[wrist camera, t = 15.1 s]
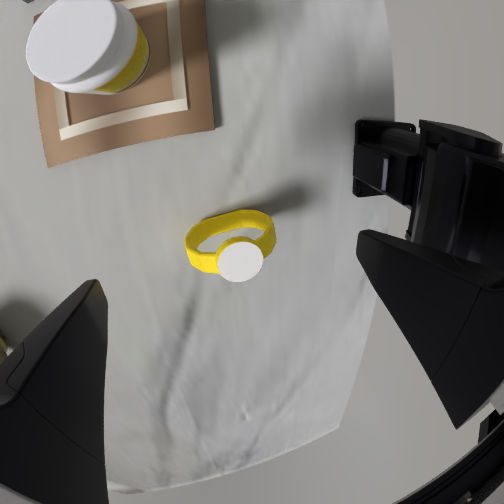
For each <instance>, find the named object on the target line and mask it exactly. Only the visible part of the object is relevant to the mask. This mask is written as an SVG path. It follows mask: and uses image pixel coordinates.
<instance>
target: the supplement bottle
mask: <svg viewBox="0 0 504 504" xmlns="http://www.w3.org/2000/svg"><path fill="white" fill-rule="evenodd" d="M26 58H27V63H28V66H29V68H30V70H31V71H32V73H33V74H34V75H35V76H36V77H38V78H39V79H41V80H43V81H45V82H50V83H51V84H52V85H53V86H55V87H56V88H58V89H60V90H62V91H66V92H70V93H86V94H101V95H112V94H117V93H120V92H123V91H125V90H127V89H129V88H131V87H132V86H133V85H135V84H136V83H137V82H138V81H139V80H140V79H141V78H142V76H143V75H144V73H145V72H146V70H147V67H148V65H149V61H150V46H149V43H148V40H147V39H146V37H145V35H144V34H143V32H142V30H141V28H140V27H139V25H138V23H137V21H136V20H135V18H134V16H133V15H132V13H131V12H130V11H129V10H128V9H127V8H126V7H124V6H123V5H121V4H119V3H117V2H114V1H111V0H58V1H56V2H55V3H53V4H52V5H51V6H49V7H48V8H47V9H46V10H45V11H44V12H43V13H42V15H41V16H40V17H39V18H38V20H37V21H36V22H35V24H34V26H33V28H32V30H31V32H30V34H29V37H28V40H27V45H26Z"/></svg>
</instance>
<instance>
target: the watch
mask: <svg viewBox="0 0 504 504" xmlns="http://www.w3.org/2000/svg"><path fill="white" fill-rule="evenodd" d="M241 227H251V228H259V229H261V230H263V231H265V232H264V234H263V235H262V236H261V237H259V238H258V239H256V240H255V241H254V240H252V239H250V238H248V237H242V236H239V237H233V238H231V239H229V240H226V241H225V242H224V243H223V244H222V245H221V246H220V247H219V249H218V250H217V252H216V253H210V252H200V251H198V250H196V249H197V248H198V246H199V244H201V243H202V242H203V241H205V240H206V239H207V238H209V237H210V236H212V235H216V234H219V233H223V232H226V231H230V230H233V229H237V228H241ZM184 243H185V247H186V251H187V254H188V256H189V259H190V262H191V264H192V266H194V267H196V268H197V269H199V270H201V271H203V272H206V273H219V274H220V275H221V276H222V277H223V278H225V279H226V280H229V281H231V282H243V281H246V280H249V279H251V278H252V277H254V276H255V275H256V274H257V273H258V272H259V270H260V269H261V267H262V264H263V259H264V258H265V257H267V256H268V255H269V254H270V253H271V252H272V250H273V248H274V246H275V243H276V234H275V228H274V223H273V221H272V219H271V217H270V216H269V215H267V214H265V213H262V212H260V211H257V210H246V209H238V211H234V212H230V213H227V214H223V215H219V216H216V217H212V218H209V219H205V220H202V221H201V222H200V223H198V224H197V225H195V226H194V227H192V229H191V230H190V231H189V233H188V234H187V236H186V237H185V240H184Z"/></svg>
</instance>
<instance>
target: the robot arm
mask: <svg viewBox="0 0 504 504" xmlns="http://www.w3.org/2000/svg"><path fill="white" fill-rule="evenodd" d="M361 124H363V127H362V128H361V127H360V126H361ZM419 127H420V134H417V133H416V127H415V125H414V124H411V123H402V122H391V121H377V120H358V121H357V122H356V123H355V146H354V159H353V194H354V195H355V196H357V197H368V196H377V195H387V196H389V197H390V198H392V199H394V200H395V201H397V202H399V203H400V204H402V205H404V206H405V207H407V208H408V209H410V210H411V215H410V221H409V227H408V230H406V235H405V238H406V240H404V239H401V238H398V237H394V236H391V235H388V234H384V233H381V232H377V231H374V230H370V229H368V230H362V231H360V232H359V234H358V240H357V248H356V255H357V258H358V260H359V262H360V264H361V265H362V267H363V269H364V271H365V273H366V275H367V276H368V278H369V280H370V282H371V284H372V286H373V287H374V289H375V291H376V292H377V294H378V295H379V297H380V298H381V300H382V301H383V303H384V304H385V306H386V308H387V309H388V311H389V312H390V314H391V315H392V317H393V318H394V320H395V322H396V323H397V325H398V326H399V328H400V329H401V331H402V333H403V334H404V336H405V338H406V339H407V341H408V342H409V344H410V346H411V348H412V349H413V351H414V352H415V354H416V356H417V358H418V360H419V361H420V363H421V365H422V366H423V368H424V370H425V372H426V374H427V375H428V377H429V379H430V381H431V383H432V385H433V386H434V388H435V390H436V392H437V394H438V396H439V398H440V400H441V401H442V403H443V405H444V407H445V409H446V411H447V413H448V415H449V417H450V419H451V421H452V423H453V425H454V427H455V428H456V429H458V428H460V427H461V426H462V425H463V424H464V423H466V422H467V421H469V420H470V419H471V418H472V417H473V416H475V415H476V414H477V413H478V412H479V411H481V410H482V409H483V408H484V407H485V406H486V405H487V404H488V403H490V402H491V403H492V405H493V406H494V407H495V410H494V411H493V412H492V413H491V414H490V415H489V416H488V417H487V418H486V419H485V420H484V421H482V422H481V423H480V431H479V438H478V444H477V445H476V446H475V447H474V448H473V449H472V450H470V451H469V452H468V453H467V454H466V455H464V456H463V457H462V458H461V459H459V460H458V461H457V462H456V463H454V464H453V465H452V466H451V467H449V468H448V469H446V470H445V471H443V472H442V473H441V474H439V475H438V476H436V477H435V478H434V479H432V480H431V481H429V482H428V483H426V484H425V485H423V486H421V487H420V488H418V489H417V490H415V491H414V492H412V493H410V494H408V495H407V496H405V497H403V498H402V499H400V500H398V501H396V502H395V503H393V504H504V154H503V153H502V143H501V142H499V141H497V140H495V139H493V138H491V137H490V136H487V135H486V134H484V133H481V132H478V131H475V130H471V129H468V128H464V127H460V126H456V125H451V124H445V123H439V122H434V121H427V120H419ZM410 128H411V131H410ZM359 189H360V192H359V193H358V190H359ZM107 345H108V302H107V299H106V296H105V294H104V292H103V289H102V287H101V284H100V282H99V281H98V280H97V279H92V280H87V281H85V282H84V283H83V284H82V285H81V286H80V287H79V288H77V289H76V290H75V291H74V292H73V293H72V294H71V295H70V296H69V297H67V298H66V299H65V300H64V301H63V302H62V303H61V304H60V305H59V306H58V307H57V308H56V309H55V310H54V311H52V312H51V313H50V314H49V315H48V316H47V317H46V318H45V319H44V320H43V321H42V322H41V323H40V324H39V325H38V326H37V327H36V328H35V329H34V330H33V331H32V332H31V333H30V334H29V335H28V336H27V337H26V338H25V339H24V340H23V342H21V343H20V344H19V345H18V346H17V347H16V348H15V349H14V350H13V352H12V353H11V354H10V355H9V356H8V357H7V358H6V359H5V360H4V361H3V362H2V363H1V364H0V504H109V500H108V491H107V481H106V469H105V465H104V464H105V455H104V388H105V370H106V357H107Z"/></svg>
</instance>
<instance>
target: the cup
mask: <svg viewBox="0 0 504 504" xmlns="http://www.w3.org/2000/svg"><path fill="white" fill-rule="evenodd" d="M6 352H7V341H6V339H5V338H4V336H3V335H2V334H1V333H0V364H1V363H2V362H3V361H4V360H5V359H6V358H7V357H8V356H7V354H6Z"/></svg>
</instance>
